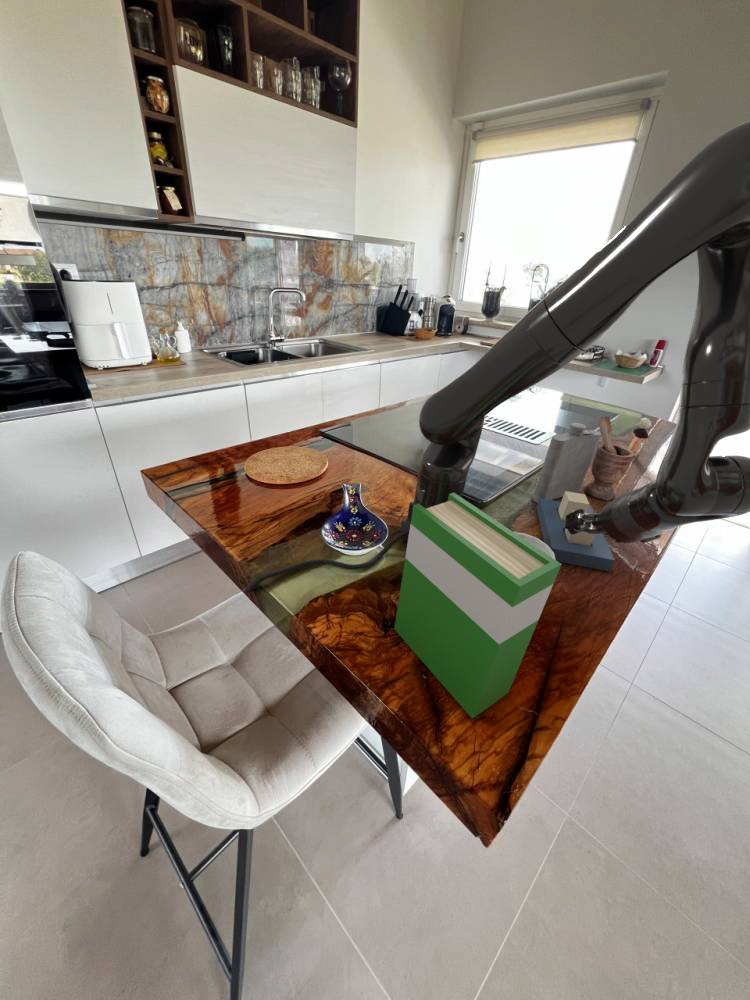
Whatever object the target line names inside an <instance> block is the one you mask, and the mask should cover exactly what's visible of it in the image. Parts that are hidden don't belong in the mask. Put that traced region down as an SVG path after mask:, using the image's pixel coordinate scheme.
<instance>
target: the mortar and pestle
mask: <svg viewBox="0 0 750 1000" xmlns="http://www.w3.org/2000/svg"><path fill="white" fill-rule="evenodd" d="M611 421H612V420H611V419H610V417H609V416H607V415H606V416H602V417H599V418H598V428H599V430H600V431H599V432H600V433H601V437H602V441H603V443H601V444H598V445H597V447H596V450H595V453H594V456H593V457H594V458H593V459H592V464H591V474H592V476H593V478H594V480H593V481H591V482H588V483H587V484H586V486H585V487H584V491H585V493H587V494H588V495H589V496H591V497H593V498H597V499H599V500H603V501H609V500H612V499H613V498H614V497H615V491H614V489H613V487H612V486H613V484H616V483H617V482H619V481H621V480H622V479H623V477H624V476H625V475H626V474H627V471H628V470H629V467H630V465H631V463H632V461H633V459H634V457H635V456H634V453H633V452H632V451H630V450H629V449H628V448H626V447H624V446H620V445H617V444H614V443H613V435H612V434H613V433H612V432H613V431H612V422H611Z"/></svg>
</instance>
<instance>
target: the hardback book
mask: <svg viewBox="0 0 750 1000" xmlns="http://www.w3.org/2000/svg"><path fill="white" fill-rule="evenodd" d="M514 532H515V531H513V530H511V529H510V528H508V527H506V526H505V525H504V524H502V523H500V522H499V521H497V520H496V519H495V518H493V517H491V515H488V514H487V513H485V512H484V511H482V510H481V509H480V508H478V507H476V506H475V505H474V504H472V503H470V502H469V501H468V500H466V499H464V498H463V497H462V498H461V497H460V496H458V495H457V494H455V493H451V494H449V497H448V502H445V503H442V504H439V505H435V506H432V507H429V508H426V509H425V508H424V507H423V506H421V505H420V504H416V505H413V512H412V518H411V524H410V531H409V537H408V543H406V551H405V557H404V563H403V570H402V576H401V583H400V591H399V595H398V603H397V609H396V614H395V615H396V616H395V621H394V627H393V628H394V631H395V632H396V633H397V634H398V635H399V637H401V639H402V640H403V641H404V642H405V643H406V645H408V647H409V648H410V649H411V651H413V653H414V654H415V655H416V656H417V657H418V659H419V660H421V662H422V663H423V664H424V666H426V667H427V669H428V670H429V671H430V672H431V673H432V675H434V677H435V678H436V679H437V680H438V681H439V682H440V684H441V685H443V687H444V688H445V689H446V691H447V692H448V693H449V694H450V695H451V697H453V698H454V700H455V701H456V702H457V703H458V704H459V706H461V708H462V709H463V711H465V712H466V714H467V715H468V716H469V717H470V718H471V719H474V718H476V717H477V716H479V715H480V714H481V713H483V712H484V711H485V710H487V709H488V708H489V707H491V706H492V705H494V704H495V703H496V702H497V701H499V700H500V699H502V698H503V697H505V696H506V695H508V693H509V692H510V690H511V688H512V685H513V683H514V680H515V678H516V676H517V673H518V671H519V668H520V666H521V664H522V661H523V658H524V656H525V654H526V651H527V649H528V647H529V644H530V642H531V640H532V637H533V634H534V632H535V629H536V627H537V624H538V622H539V620H540V618H541V615H542V613H543V610H544V608H545V605H546V603H547V601H548V598H549V596H550V594H551V591H552V588H553V586H554V584H555V581H556V579H557V577H558V575H559V571H560V569H561V567H562V565H563V564H562V562H558V561H556V560H555V559H553V558H552V557H550V556H549V555H547V554H546V553H544V552H543V551H541V550H540V549H538V548H537V547H535V546H534V545H532V544H531V543H529V542H528V541H526V540H525V539H523V538H522V537H520V536H519V535H517V534H516V533H514Z"/></svg>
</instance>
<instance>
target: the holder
mask: <svg viewBox="0 0 750 1000" xmlns="http://www.w3.org/2000/svg"><path fill="white" fill-rule="evenodd" d="M560 504H561V501H558V500H554V499H553V500H548V499H542V498H540V499H539V502H538V503H537V504H536V513H537V517H538V521H539V527H540V531H541V536H542V539H543V542H544V543H545V544H547V545H548V546H549V547H550V549H551V550H552V551H553V552H554V554H555V559H556V561H558V562H559V563H564V564H569V565H574V566H579V567H584V568H590V569H594V570H599V571H605V572H610V571H611V569H612V568H613V565H614V563H615V561H616V558H615V557H614V555H613V552H612V550H611V548H610V546H609V543H608V541H607V539H606V537H605V535H604V534H595V537H594V539H593V541H592V543H591V546H586V545H581V544H576V543H570V542H567V541H566V538H565V535H564V531H565V524H566V521H565V520H560V518H559V515H558V509H559V506H560ZM586 513H589V514H595V511H594V510H593V507H592V506H589V507H588V509H587V511H586Z"/></svg>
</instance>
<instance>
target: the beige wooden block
mask: <svg viewBox="0 0 750 1000" xmlns="http://www.w3.org/2000/svg"><path fill="white" fill-rule="evenodd" d="M561 498H562V499H561V501H560V502H561V504H560V506H559V509H558V515H559V518H560V520H565V521H566V515H568V514H570V513H572V511H576V510H578V509H583V510H585V513H586V511H587V509H588V507H590V502H589V499H588V498H587V496H586V494H584V493H580V492H579V493H574V492H568V491H565V493H564V496H563V497H561Z"/></svg>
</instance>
